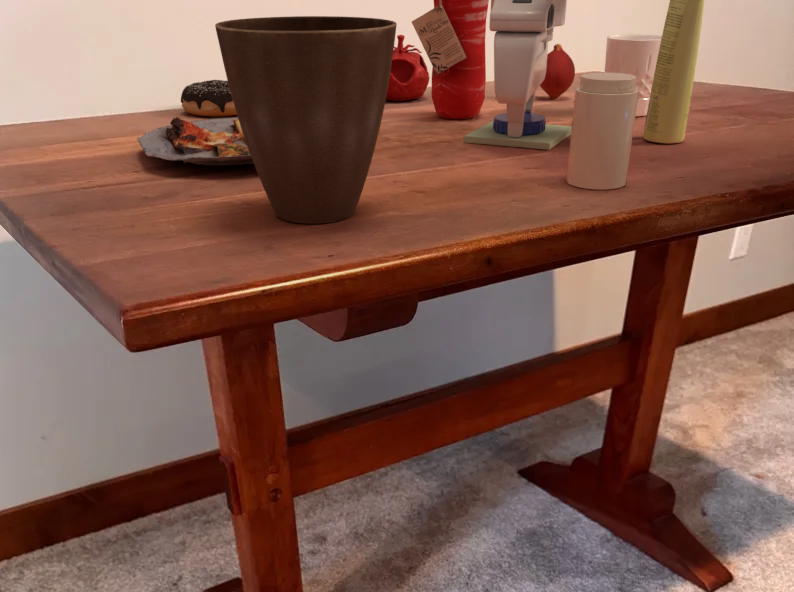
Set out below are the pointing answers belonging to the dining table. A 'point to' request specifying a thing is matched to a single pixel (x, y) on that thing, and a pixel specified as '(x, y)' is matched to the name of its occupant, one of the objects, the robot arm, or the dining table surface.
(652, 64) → the white cup
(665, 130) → the tube
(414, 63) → the red tomato holder
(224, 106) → the donut
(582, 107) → the white jar
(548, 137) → the mat
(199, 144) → the food plate
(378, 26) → the flower pot
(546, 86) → the onion
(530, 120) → the jar lid
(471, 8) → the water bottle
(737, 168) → the dining table surface
